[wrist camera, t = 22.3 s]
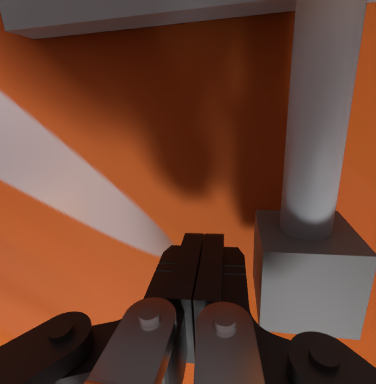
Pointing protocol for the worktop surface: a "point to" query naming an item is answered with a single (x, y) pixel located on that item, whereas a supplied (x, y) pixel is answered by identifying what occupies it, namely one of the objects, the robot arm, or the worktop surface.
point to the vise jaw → (315, 188)
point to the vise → (122, 14)
